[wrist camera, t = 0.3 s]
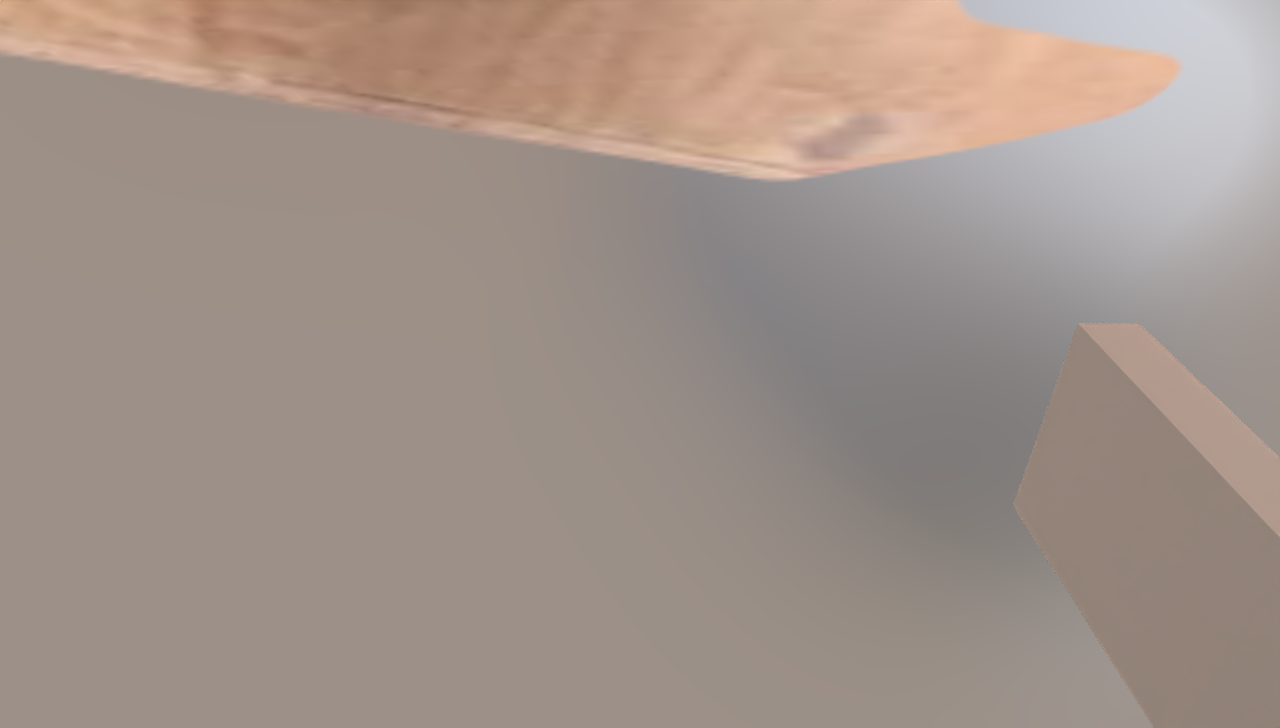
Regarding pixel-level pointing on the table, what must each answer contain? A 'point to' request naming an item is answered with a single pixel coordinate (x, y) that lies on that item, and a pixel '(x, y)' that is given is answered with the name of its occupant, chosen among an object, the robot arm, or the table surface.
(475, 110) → the table surface
